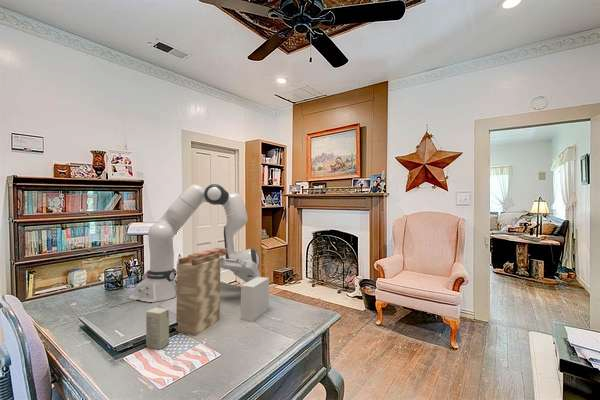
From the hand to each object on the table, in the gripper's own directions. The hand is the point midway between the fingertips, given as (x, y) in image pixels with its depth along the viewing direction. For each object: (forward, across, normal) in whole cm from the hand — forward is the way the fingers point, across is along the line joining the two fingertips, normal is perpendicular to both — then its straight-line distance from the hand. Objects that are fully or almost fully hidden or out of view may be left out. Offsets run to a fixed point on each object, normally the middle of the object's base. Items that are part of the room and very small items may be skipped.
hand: (229, 259), depth 133 cm
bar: (+15, 0, +5) cm, 16 cm away
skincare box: (+22, -3, +39) cm, 45 cm away
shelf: (-9, +16, +21) cm, 28 cm away
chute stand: (+7, 0, +30) cm, 31 cm away
